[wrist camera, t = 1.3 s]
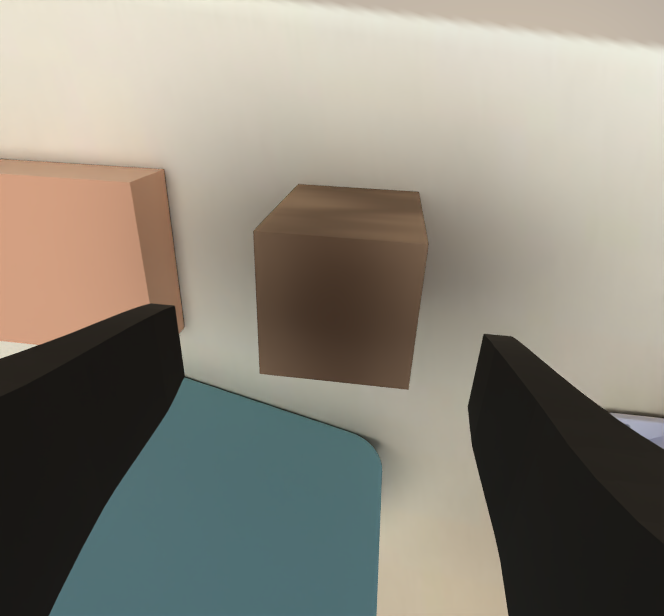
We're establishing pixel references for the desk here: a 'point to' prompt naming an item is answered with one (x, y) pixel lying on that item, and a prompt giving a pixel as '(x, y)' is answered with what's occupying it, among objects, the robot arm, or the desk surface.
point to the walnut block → (340, 285)
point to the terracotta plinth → (81, 247)
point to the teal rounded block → (235, 519)
